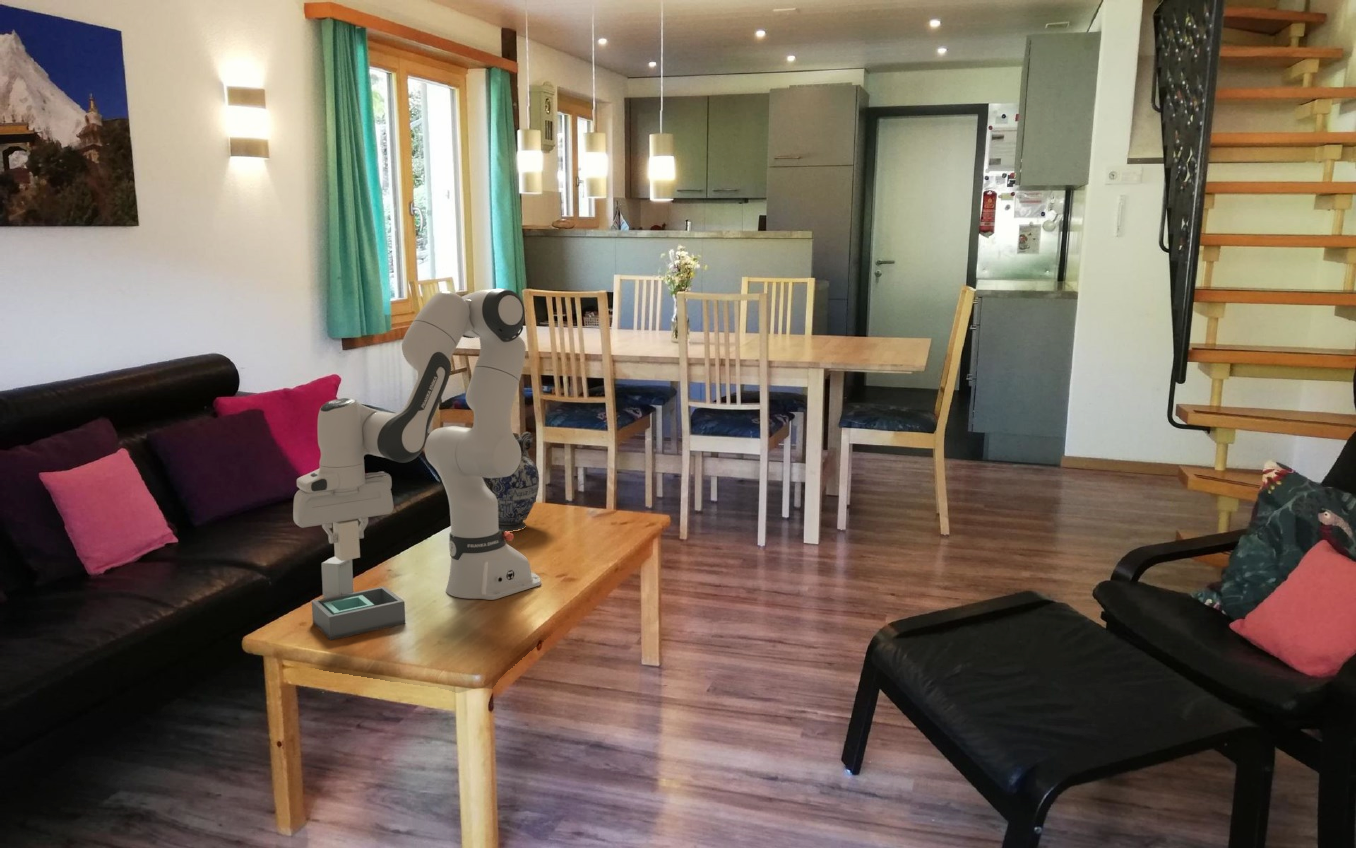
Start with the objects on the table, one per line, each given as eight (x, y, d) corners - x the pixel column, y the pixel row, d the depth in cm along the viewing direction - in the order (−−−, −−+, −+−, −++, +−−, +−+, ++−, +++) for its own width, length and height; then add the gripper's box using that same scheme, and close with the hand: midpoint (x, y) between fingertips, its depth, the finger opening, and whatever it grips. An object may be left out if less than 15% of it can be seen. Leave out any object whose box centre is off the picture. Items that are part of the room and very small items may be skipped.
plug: (353, 553, 206) (351, 512, 204) (360, 557, 203) (357, 516, 201) (334, 556, 203) (332, 515, 202) (341, 561, 200) (338, 519, 199)
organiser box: (385, 607, 216) (384, 586, 216) (405, 623, 207) (404, 601, 206) (312, 623, 207) (311, 600, 206) (330, 640, 197) (329, 617, 197)
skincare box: (340, 616, 211) (337, 564, 209) (323, 615, 212) (320, 563, 210) (355, 606, 217) (352, 556, 215) (338, 605, 218) (335, 554, 216)
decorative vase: (506, 541, 268) (503, 442, 263) (459, 532, 278) (455, 437, 273) (556, 524, 285) (554, 432, 281) (510, 516, 295) (507, 427, 291)
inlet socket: (363, 612, 211) (362, 595, 210) (375, 622, 205) (374, 604, 204) (324, 620, 206) (323, 603, 205) (335, 631, 200) (334, 613, 199)
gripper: (385, 467, 209) (388, 528, 211) (288, 480, 196) (292, 545, 199) (396, 472, 204) (399, 535, 206) (297, 486, 191) (302, 552, 194)
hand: (346, 540), depth 202 cm, fingers closed on plug, 4 cm apart
